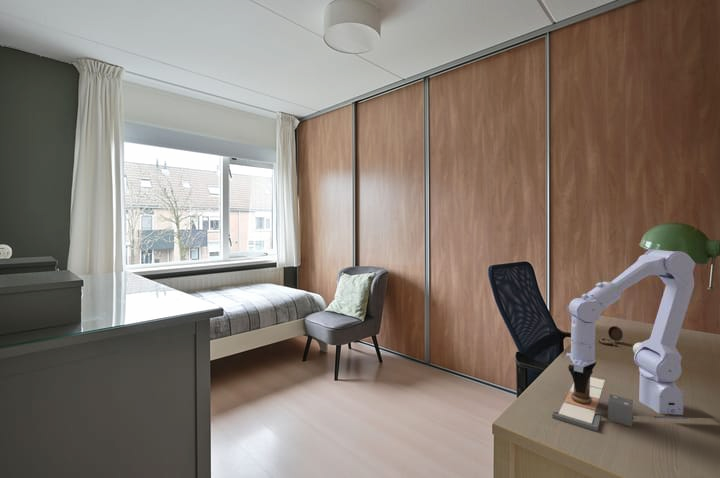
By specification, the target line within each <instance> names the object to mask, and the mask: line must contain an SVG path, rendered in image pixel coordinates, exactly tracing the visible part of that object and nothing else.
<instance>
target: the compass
mask: <svg viewBox="0 0 720 478" xmlns="http://www.w3.org/2000/svg"><path fill="white" fill-rule="evenodd" d="M607 335H608V337H609V338H600V339H598V343H599V344H602V345H605V346H612V347H613V346H619V344H617V342H620V341H621V340H622V339H623V336H624V335H623V331H622V329H621V328H620V327H619V326H616V325H612V326H610V327H609V328H608V334H607Z"/></svg>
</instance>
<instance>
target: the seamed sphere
mask: <svg viewBox="0 0 720 478" xmlns="http://www.w3.org/2000/svg"><path fill="white" fill-rule="evenodd" d="M642 342H643V341H642ZM642 342H636V343H634V345H632V347H628V348H629V349H631V348H632V351H633V353H634V354H635V353H636V351H637V350H638V349H639V348H640V347H641V344H642Z"/></svg>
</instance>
